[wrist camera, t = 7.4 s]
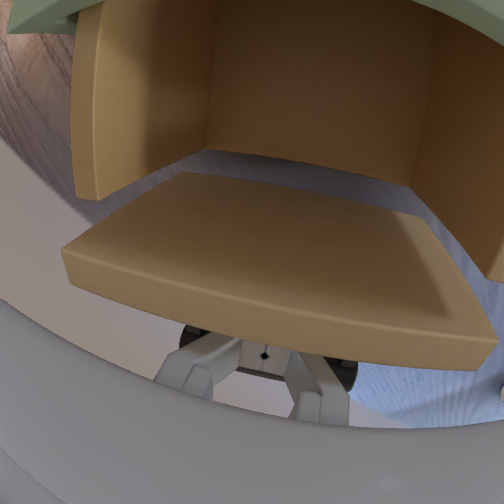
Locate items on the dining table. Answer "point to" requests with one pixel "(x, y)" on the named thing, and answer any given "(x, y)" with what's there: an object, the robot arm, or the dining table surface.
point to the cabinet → (70, 3)
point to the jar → (502, 394)
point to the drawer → (300, 150)
